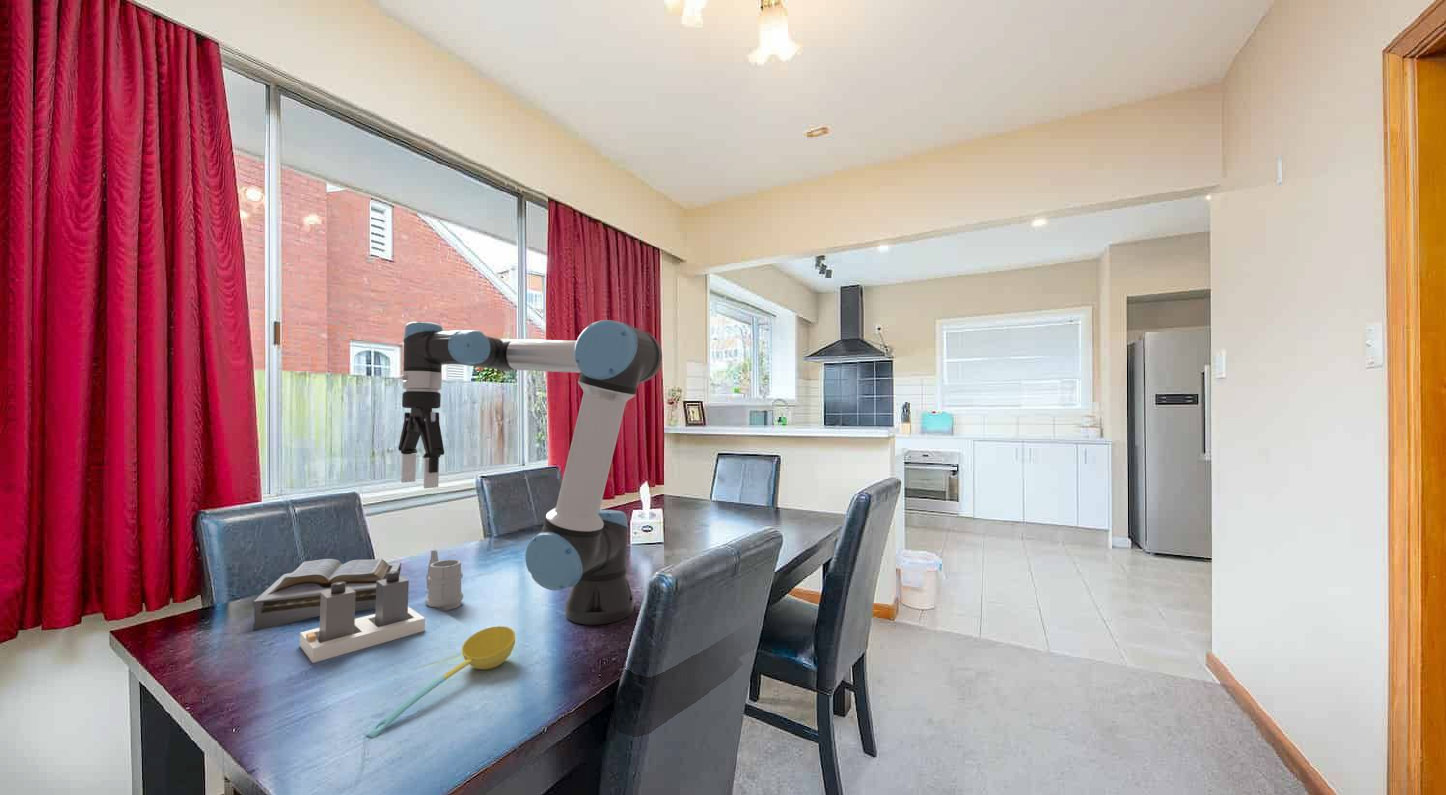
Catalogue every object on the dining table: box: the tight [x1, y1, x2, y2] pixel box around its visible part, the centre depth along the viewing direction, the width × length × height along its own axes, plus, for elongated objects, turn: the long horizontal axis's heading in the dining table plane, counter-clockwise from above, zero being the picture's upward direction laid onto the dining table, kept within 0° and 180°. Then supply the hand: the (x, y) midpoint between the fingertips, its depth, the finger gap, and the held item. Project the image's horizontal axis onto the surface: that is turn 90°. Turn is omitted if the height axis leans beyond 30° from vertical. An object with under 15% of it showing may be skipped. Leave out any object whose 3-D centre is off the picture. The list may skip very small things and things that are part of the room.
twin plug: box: [318, 582, 356, 643], centre depth 96 cm, size 4×4×12 cm
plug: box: [374, 571, 410, 627], centre depth 103 cm, size 4×4×12 cm
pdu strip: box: [299, 606, 426, 664], centre depth 100 cm, size 10×18×4 cm, turn 140°
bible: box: [252, 558, 402, 631], centre depth 119 cm, size 23×27×10 cm
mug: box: [425, 549, 464, 612], centre depth 120 cm, size 8×12×12 cm, turn 54°
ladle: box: [365, 626, 516, 739], centre depth 84 cm, size 9×26×6 cm, turn 161°
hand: (419, 484), depth 115 cm, fingers open, 13 cm apart
